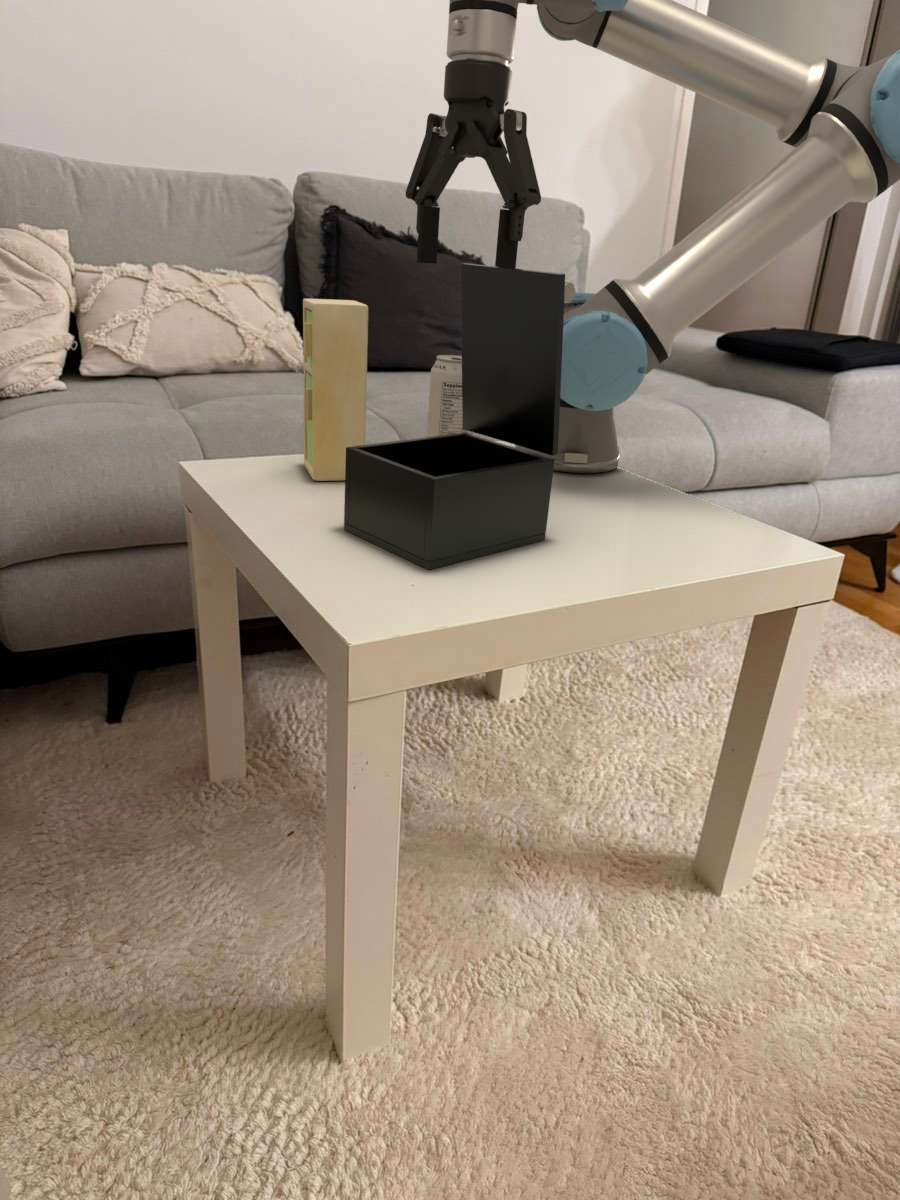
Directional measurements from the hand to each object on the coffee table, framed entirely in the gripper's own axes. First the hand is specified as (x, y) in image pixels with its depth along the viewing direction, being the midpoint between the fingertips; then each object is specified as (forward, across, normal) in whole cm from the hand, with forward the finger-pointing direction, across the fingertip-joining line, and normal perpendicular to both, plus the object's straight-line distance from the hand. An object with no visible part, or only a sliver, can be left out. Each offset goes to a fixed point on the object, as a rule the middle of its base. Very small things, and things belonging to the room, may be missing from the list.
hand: (464, 267), depth 103 cm
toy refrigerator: (+26, -8, -14) cm, 30 cm away
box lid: (+8, +18, -11) cm, 23 cm away
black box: (+26, +18, -18) cm, 36 cm away
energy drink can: (+26, -1, 0) cm, 26 cm away
